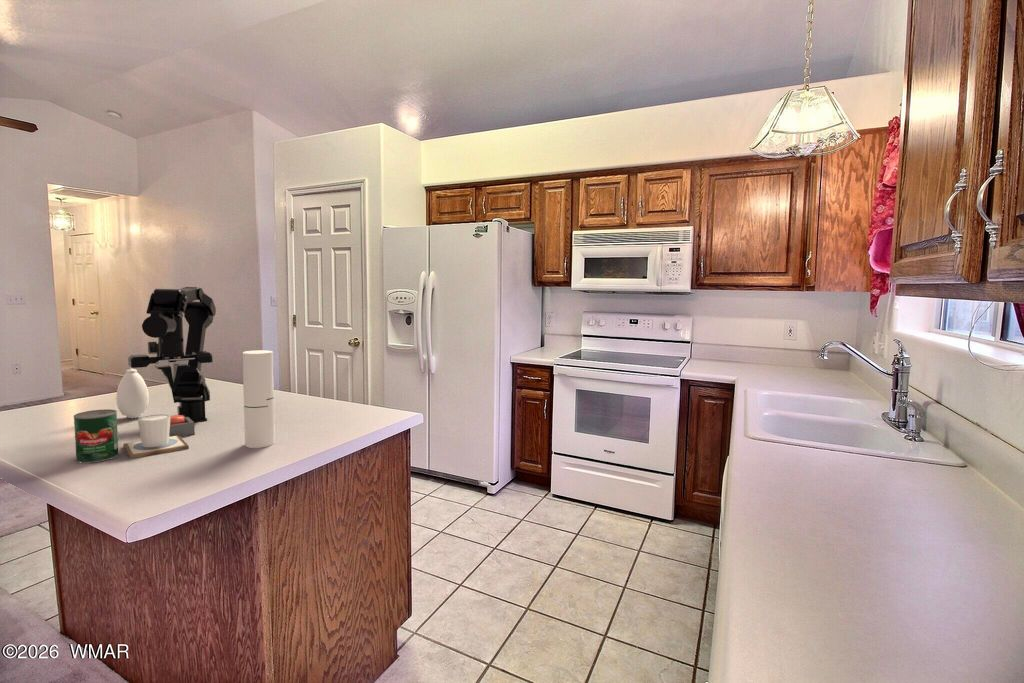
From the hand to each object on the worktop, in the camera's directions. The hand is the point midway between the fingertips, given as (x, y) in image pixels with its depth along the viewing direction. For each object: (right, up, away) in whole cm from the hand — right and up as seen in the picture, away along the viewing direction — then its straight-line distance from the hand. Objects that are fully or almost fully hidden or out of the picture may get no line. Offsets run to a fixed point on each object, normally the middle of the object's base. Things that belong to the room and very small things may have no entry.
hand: (173, 389), depth 137 cm
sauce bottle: (-24, -11, +16) cm, 30 cm away
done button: (0, -10, +1) cm, 10 cm away
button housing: (0, -13, +1) cm, 13 cm away
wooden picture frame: (+3, -14, -11) cm, 18 cm away
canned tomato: (-5, -15, -19) cm, 25 cm away
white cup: (+3, -13, -11) cm, 17 cm away
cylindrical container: (+27, -14, -5) cm, 31 cm away
